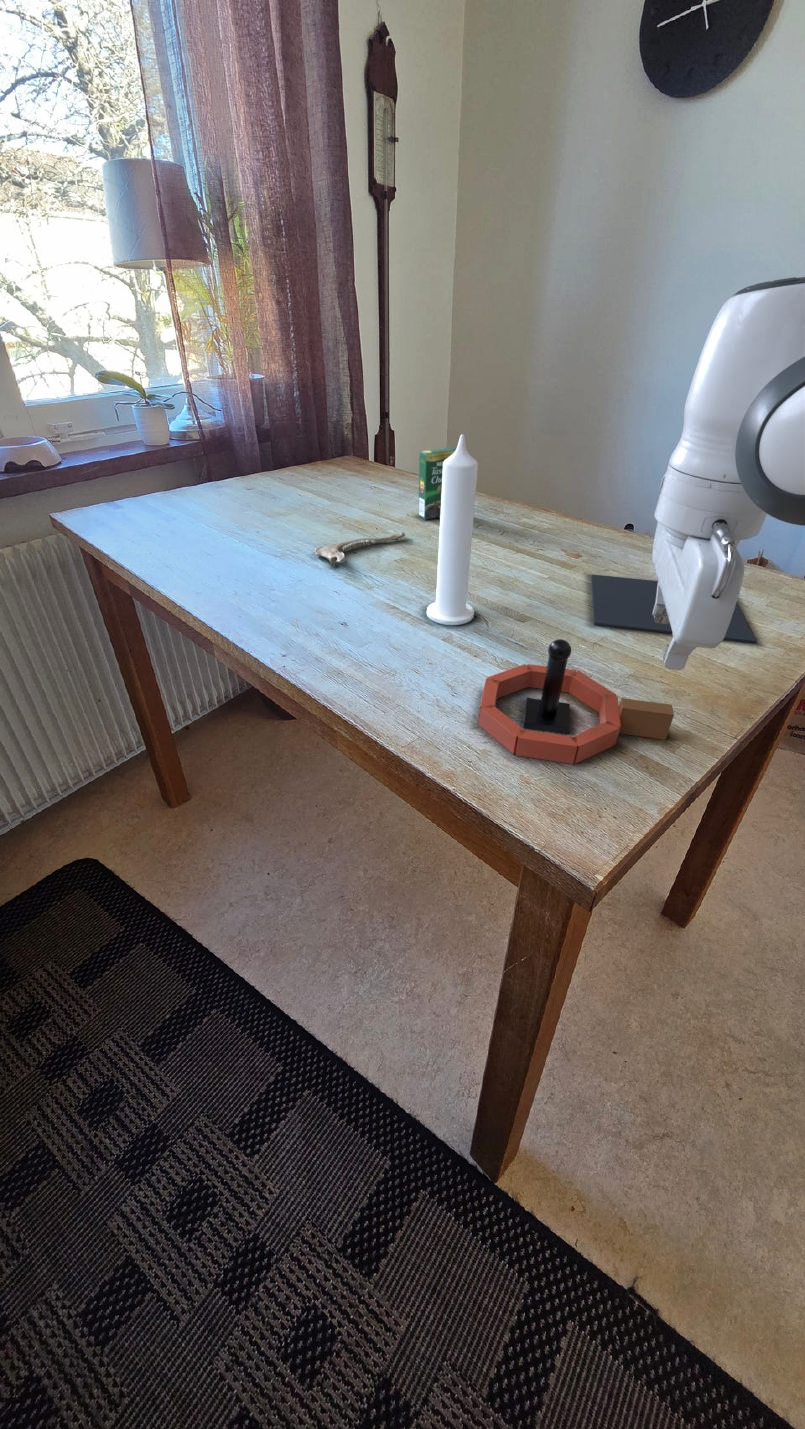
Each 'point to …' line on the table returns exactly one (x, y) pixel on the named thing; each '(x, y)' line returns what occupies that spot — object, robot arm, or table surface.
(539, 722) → the peg stand
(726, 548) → the robot arm
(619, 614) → the mat
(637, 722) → the hoop
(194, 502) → the table surface
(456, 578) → the candle
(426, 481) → the coffee box
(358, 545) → the jawbone
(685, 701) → the table surface
